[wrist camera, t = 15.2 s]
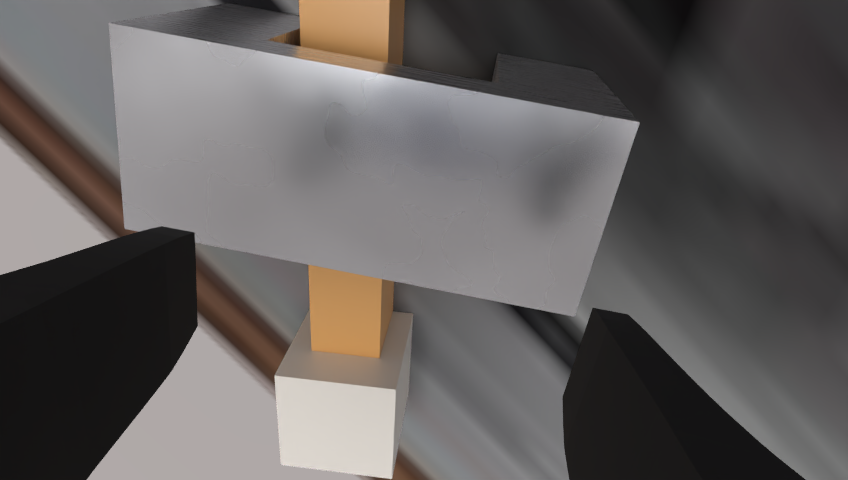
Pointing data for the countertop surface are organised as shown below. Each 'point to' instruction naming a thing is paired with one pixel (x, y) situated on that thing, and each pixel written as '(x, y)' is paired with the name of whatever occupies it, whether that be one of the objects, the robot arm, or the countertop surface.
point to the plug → (347, 307)
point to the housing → (366, 156)
